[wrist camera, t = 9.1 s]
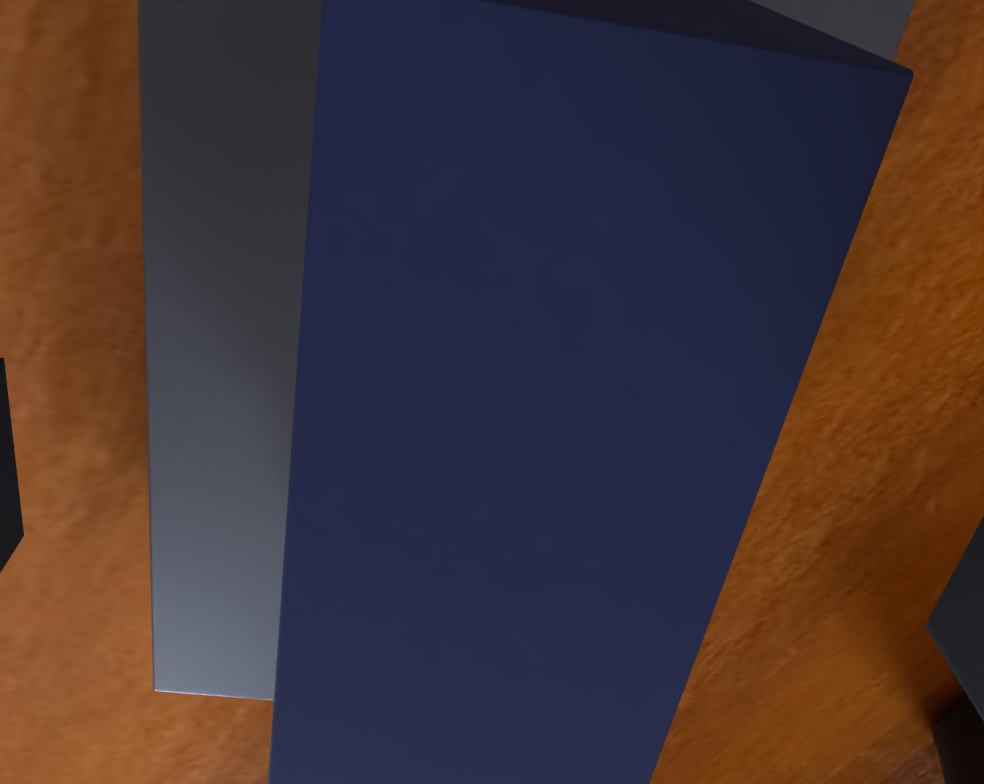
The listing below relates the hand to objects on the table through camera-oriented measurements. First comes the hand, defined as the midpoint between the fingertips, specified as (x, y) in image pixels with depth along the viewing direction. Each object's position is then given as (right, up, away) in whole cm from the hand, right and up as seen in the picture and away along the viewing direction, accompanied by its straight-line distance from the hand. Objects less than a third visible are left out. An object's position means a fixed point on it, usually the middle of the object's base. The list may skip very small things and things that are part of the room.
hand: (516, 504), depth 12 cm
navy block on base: (0, +4, +7) cm, 8 cm away
